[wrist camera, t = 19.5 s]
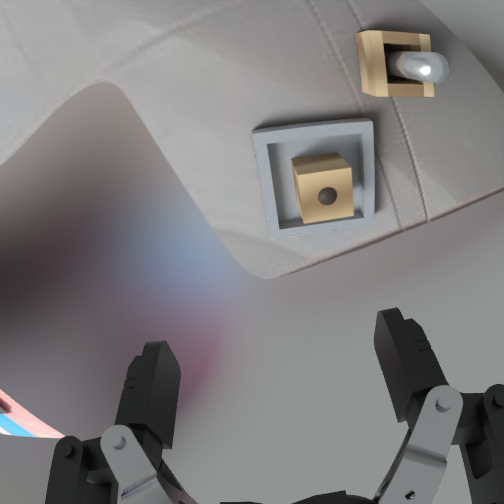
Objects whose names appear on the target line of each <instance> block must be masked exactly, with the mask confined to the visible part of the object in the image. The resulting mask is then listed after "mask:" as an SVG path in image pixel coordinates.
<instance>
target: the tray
mask: <svg viewBox="0 0 504 504" xmlns="http://www.w3.org/2000/svg"><path fill="white" fill-rule="evenodd" d="M252 136H253V142H254V147H255V153H256V159H257V165H258V171H259V177H260V183H261V189H262V195H263V201H264V207H265V213H266V219H267V226H268V232H269V238H270V241H271V240H278V239H285V238H292V237H299V236H305V235H312V234H319V233H326V232H333V231H340V230H347V229H354V228H361V227H369V226H374V201H375V170H374V136H373V121H371V120H370V119H368V118H352V119H339V120H327V121H317V122H308V123H299V124H291V125H283V126H275V127H268V128H262V129H255V130H252ZM336 152H338V154H339V155H340V156H341V157H342V158H343V159H344V160H345V161H346V162H347V163H348V165H349V166H350V167H351V171H352V187H353V208H354V216H349V217H343V218H337V219H330V220H324V221H318V222H312V223H306V224H304V222H303V219H302V216H301V213H300V210H299V207H298V204H297V199H296V192H295V185H294V178H293V171H292V164H291V159H294V158H300V157H307V156H314V155H321V154H329V153H336Z"/></svg>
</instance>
